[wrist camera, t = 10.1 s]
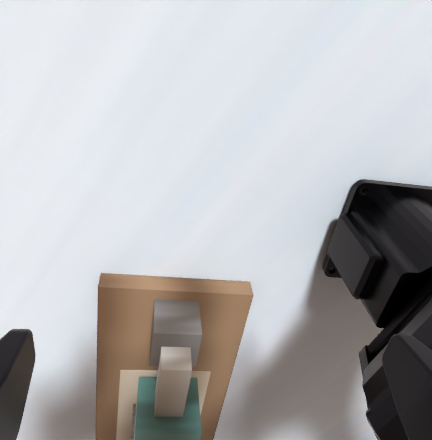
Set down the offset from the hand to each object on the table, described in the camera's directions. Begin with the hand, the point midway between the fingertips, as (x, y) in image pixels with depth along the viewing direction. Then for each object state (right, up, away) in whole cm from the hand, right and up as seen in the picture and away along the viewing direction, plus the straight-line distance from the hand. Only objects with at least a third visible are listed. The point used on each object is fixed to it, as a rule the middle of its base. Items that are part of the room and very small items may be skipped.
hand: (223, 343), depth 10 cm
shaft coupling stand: (-5, -11, +21) cm, 24 cm away
